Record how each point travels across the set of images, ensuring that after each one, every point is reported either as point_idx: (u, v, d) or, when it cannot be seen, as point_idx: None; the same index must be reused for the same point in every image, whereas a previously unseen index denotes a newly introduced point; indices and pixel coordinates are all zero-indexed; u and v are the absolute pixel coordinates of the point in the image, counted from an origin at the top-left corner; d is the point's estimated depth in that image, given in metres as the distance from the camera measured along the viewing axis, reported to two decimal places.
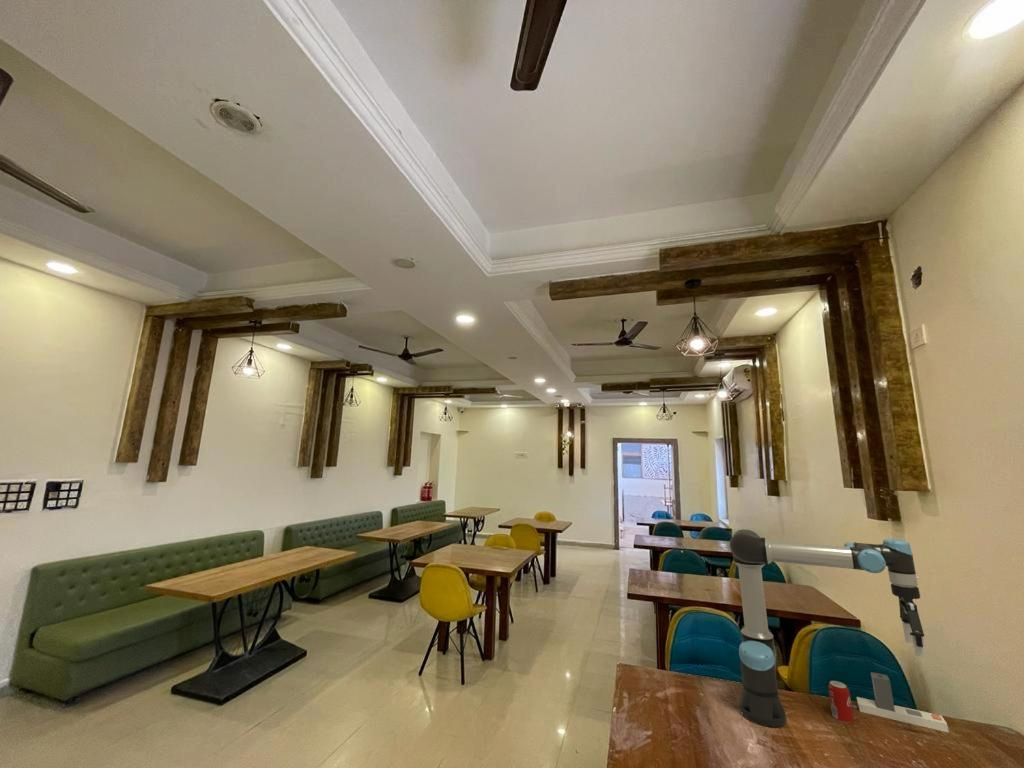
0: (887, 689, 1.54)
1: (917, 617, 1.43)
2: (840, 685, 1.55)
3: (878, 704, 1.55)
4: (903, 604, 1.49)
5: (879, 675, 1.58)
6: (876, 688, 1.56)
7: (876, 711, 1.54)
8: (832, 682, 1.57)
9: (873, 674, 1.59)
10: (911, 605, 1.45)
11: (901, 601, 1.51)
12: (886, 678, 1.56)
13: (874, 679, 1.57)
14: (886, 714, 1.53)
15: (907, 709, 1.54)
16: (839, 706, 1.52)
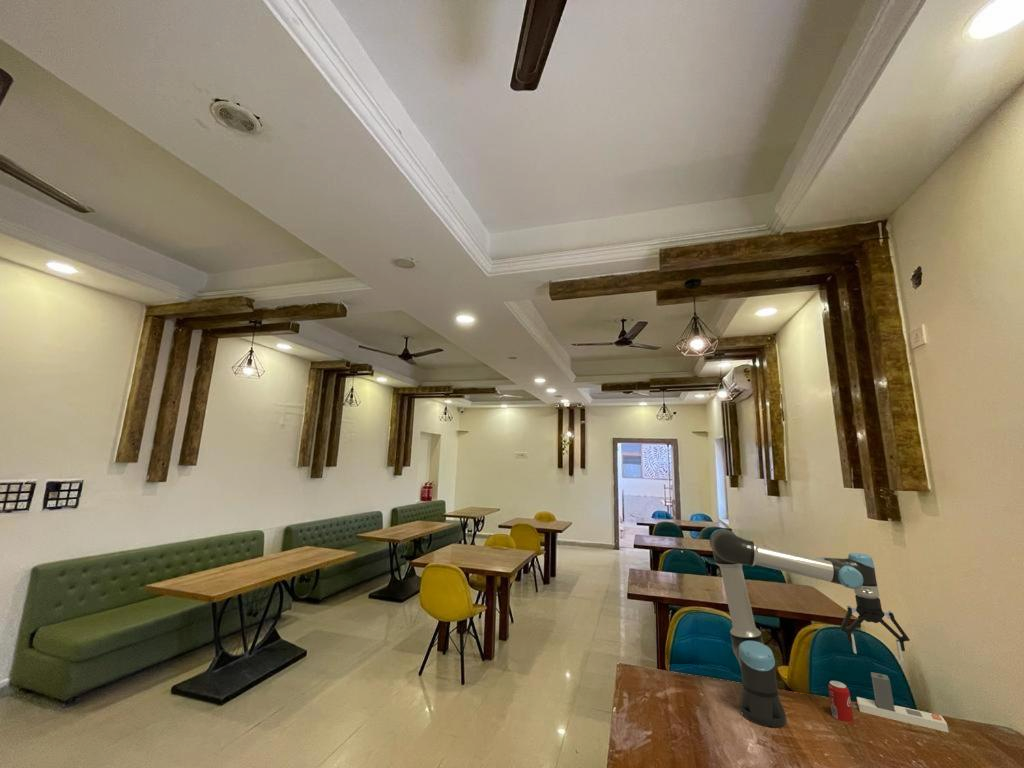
0: (887, 689, 1.54)
1: (846, 617, 1.65)
2: (840, 685, 1.55)
3: (878, 704, 1.55)
4: None
5: (879, 675, 1.58)
6: (876, 688, 1.56)
7: (876, 711, 1.54)
8: (832, 682, 1.57)
9: (873, 674, 1.59)
10: (847, 607, 1.66)
11: None
12: (886, 678, 1.56)
13: (874, 679, 1.57)
14: (886, 714, 1.53)
15: (907, 709, 1.54)
16: (839, 706, 1.52)
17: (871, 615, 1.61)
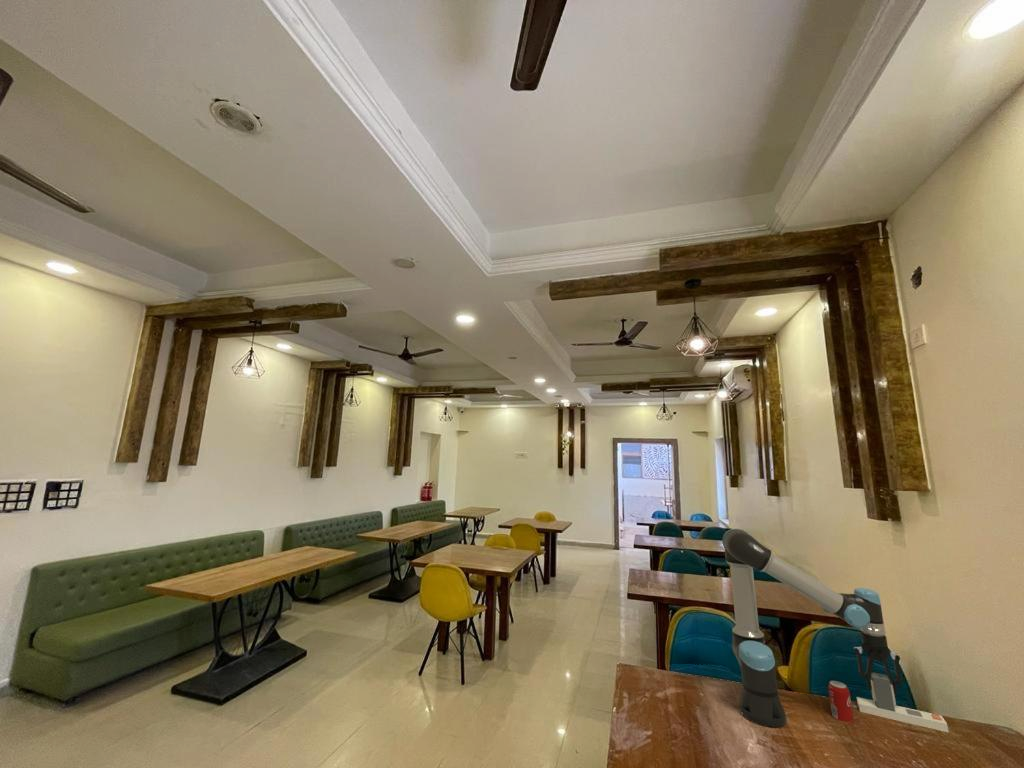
0: (887, 689, 1.54)
1: (857, 660, 1.61)
2: (840, 685, 1.55)
3: (878, 704, 1.55)
4: None
5: (879, 675, 1.58)
6: (876, 688, 1.56)
7: (876, 711, 1.54)
8: (832, 682, 1.57)
9: (873, 674, 1.59)
10: (854, 649, 1.63)
11: None
12: (886, 678, 1.56)
13: (874, 679, 1.57)
14: (886, 714, 1.53)
15: (907, 709, 1.54)
16: (839, 706, 1.52)
17: (877, 653, 1.58)
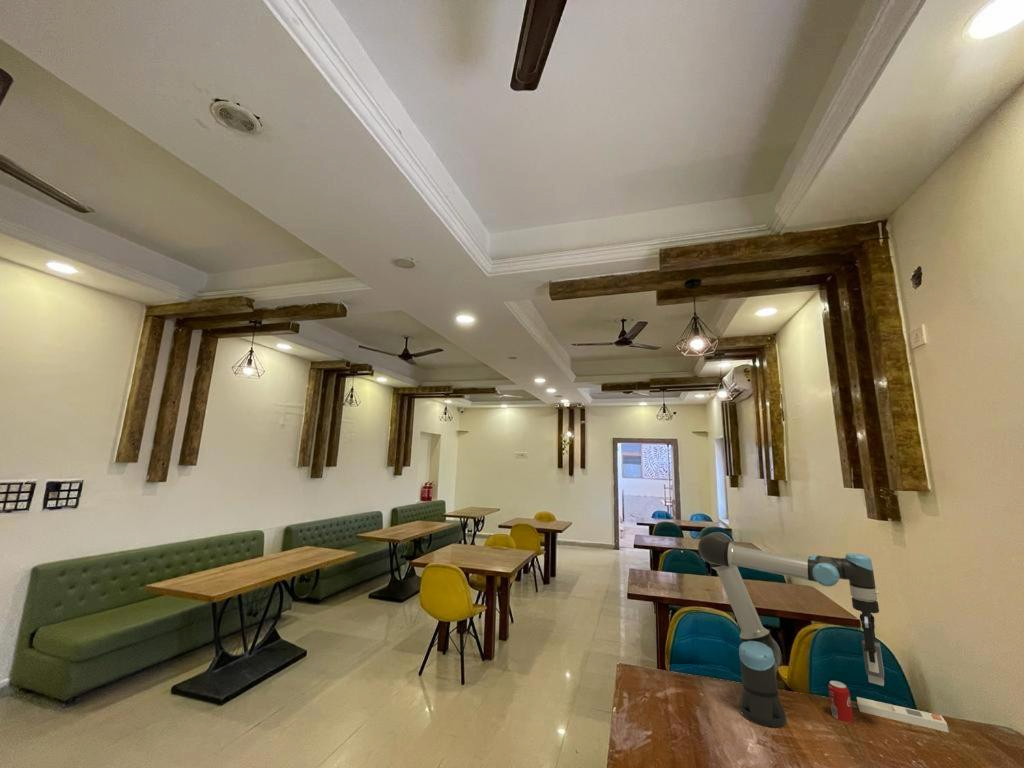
0: None
1: (870, 635, 1.47)
2: (840, 685, 1.55)
3: (883, 675, 1.46)
4: (861, 618, 1.52)
5: None
6: (881, 658, 1.47)
7: (876, 711, 1.54)
8: (832, 682, 1.57)
9: None
10: (866, 624, 1.48)
11: (861, 614, 1.54)
12: (874, 642, 1.51)
13: (879, 649, 1.48)
14: (886, 714, 1.53)
15: (907, 709, 1.54)
16: (839, 706, 1.52)
17: None
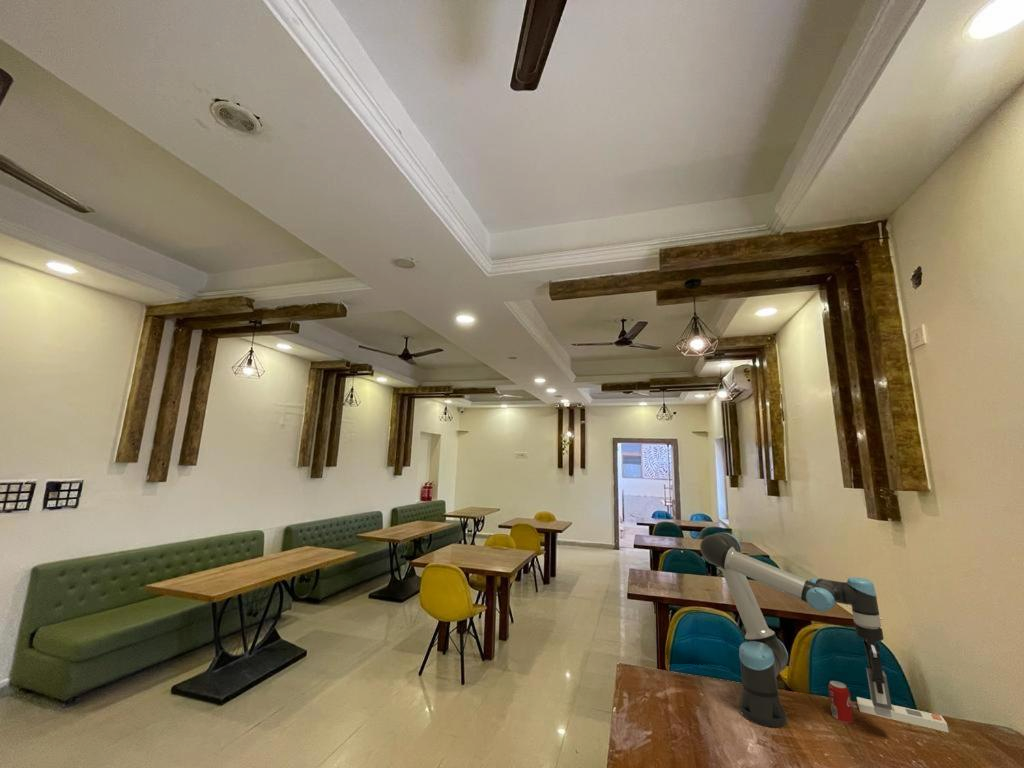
0: None
1: (879, 665, 1.41)
2: (840, 685, 1.55)
3: (891, 706, 1.41)
4: (866, 647, 1.46)
5: None
6: None
7: None
8: (832, 682, 1.57)
9: None
10: (874, 653, 1.42)
11: (865, 641, 1.49)
12: None
13: None
14: None
15: (907, 709, 1.54)
16: (839, 706, 1.52)
17: None
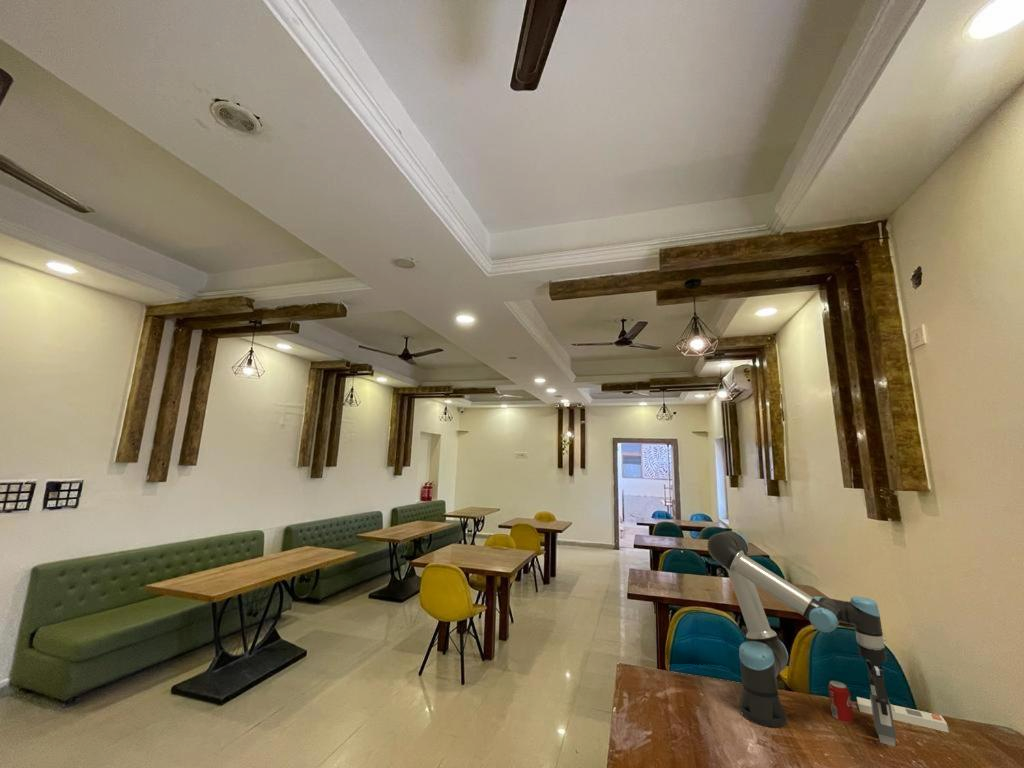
0: None
1: (882, 683, 1.39)
2: (840, 685, 1.55)
3: None
4: (869, 667, 1.45)
5: None
6: None
7: None
8: (832, 682, 1.57)
9: None
10: (877, 670, 1.41)
11: (868, 662, 1.47)
12: None
13: (890, 706, 1.41)
14: None
15: (907, 709, 1.54)
16: (839, 706, 1.52)
17: None
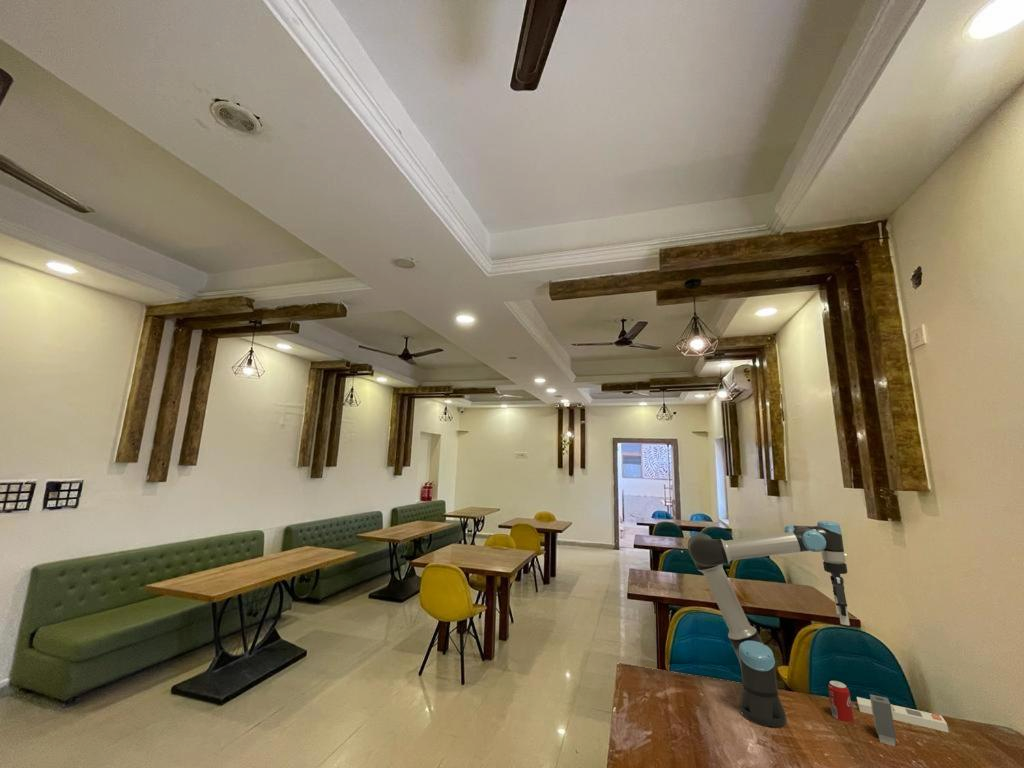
0: None
1: (842, 589, 1.59)
2: (840, 685, 1.55)
3: None
4: (832, 579, 1.66)
5: (878, 698, 1.44)
6: None
7: None
8: (832, 682, 1.57)
9: (879, 701, 1.42)
10: (838, 579, 1.61)
11: (831, 576, 1.68)
12: (882, 697, 1.45)
13: (890, 706, 1.41)
14: None
15: (907, 709, 1.54)
16: (839, 706, 1.52)
17: None
